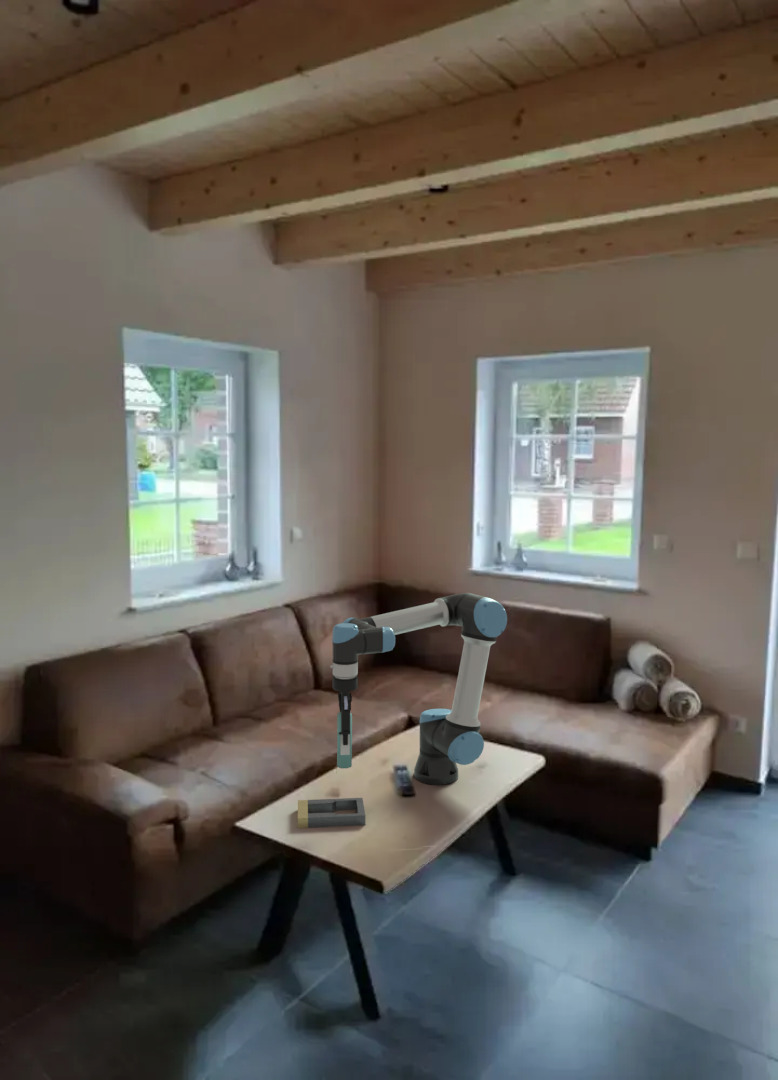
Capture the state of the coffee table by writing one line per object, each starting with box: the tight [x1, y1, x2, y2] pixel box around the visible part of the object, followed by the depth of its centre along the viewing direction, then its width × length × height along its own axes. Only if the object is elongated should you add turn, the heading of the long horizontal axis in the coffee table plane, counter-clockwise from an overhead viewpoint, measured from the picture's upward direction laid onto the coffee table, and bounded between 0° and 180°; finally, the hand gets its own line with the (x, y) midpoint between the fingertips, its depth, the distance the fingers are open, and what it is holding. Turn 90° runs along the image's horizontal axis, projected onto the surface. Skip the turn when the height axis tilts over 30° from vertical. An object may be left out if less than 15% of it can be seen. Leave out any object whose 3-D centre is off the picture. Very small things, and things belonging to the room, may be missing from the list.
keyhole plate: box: [297, 797, 366, 829], centre depth 239 cm, size 20×12×3 cm, turn 96°
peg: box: [336, 711, 353, 769], centre depth 237 cm, size 4×4×16 cm
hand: (344, 751), depth 237 cm, fingers closed on peg, 4 cm apart
